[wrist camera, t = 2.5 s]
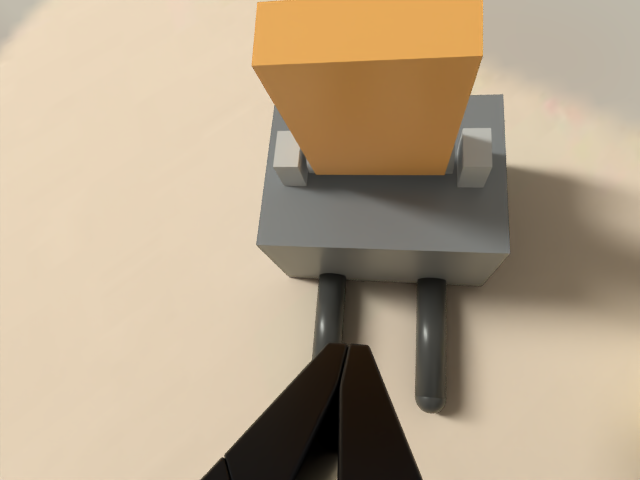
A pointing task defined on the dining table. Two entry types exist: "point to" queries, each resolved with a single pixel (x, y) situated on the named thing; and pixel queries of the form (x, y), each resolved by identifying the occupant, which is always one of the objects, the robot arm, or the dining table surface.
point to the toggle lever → (371, 80)
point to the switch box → (392, 231)
